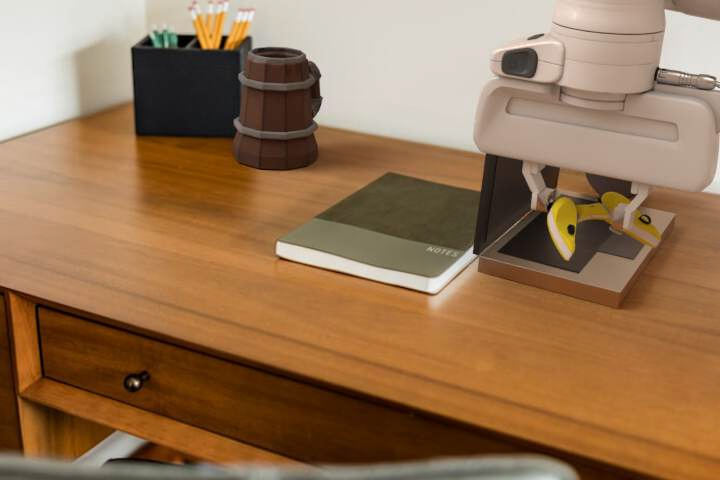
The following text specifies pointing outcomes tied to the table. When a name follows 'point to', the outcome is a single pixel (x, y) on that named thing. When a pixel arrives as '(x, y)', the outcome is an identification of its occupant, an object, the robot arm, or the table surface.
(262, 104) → the mug
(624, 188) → the striped round disc
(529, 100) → the robot arm
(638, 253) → the laptop
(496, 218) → the laptop screen
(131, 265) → the table surface
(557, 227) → the game controller
